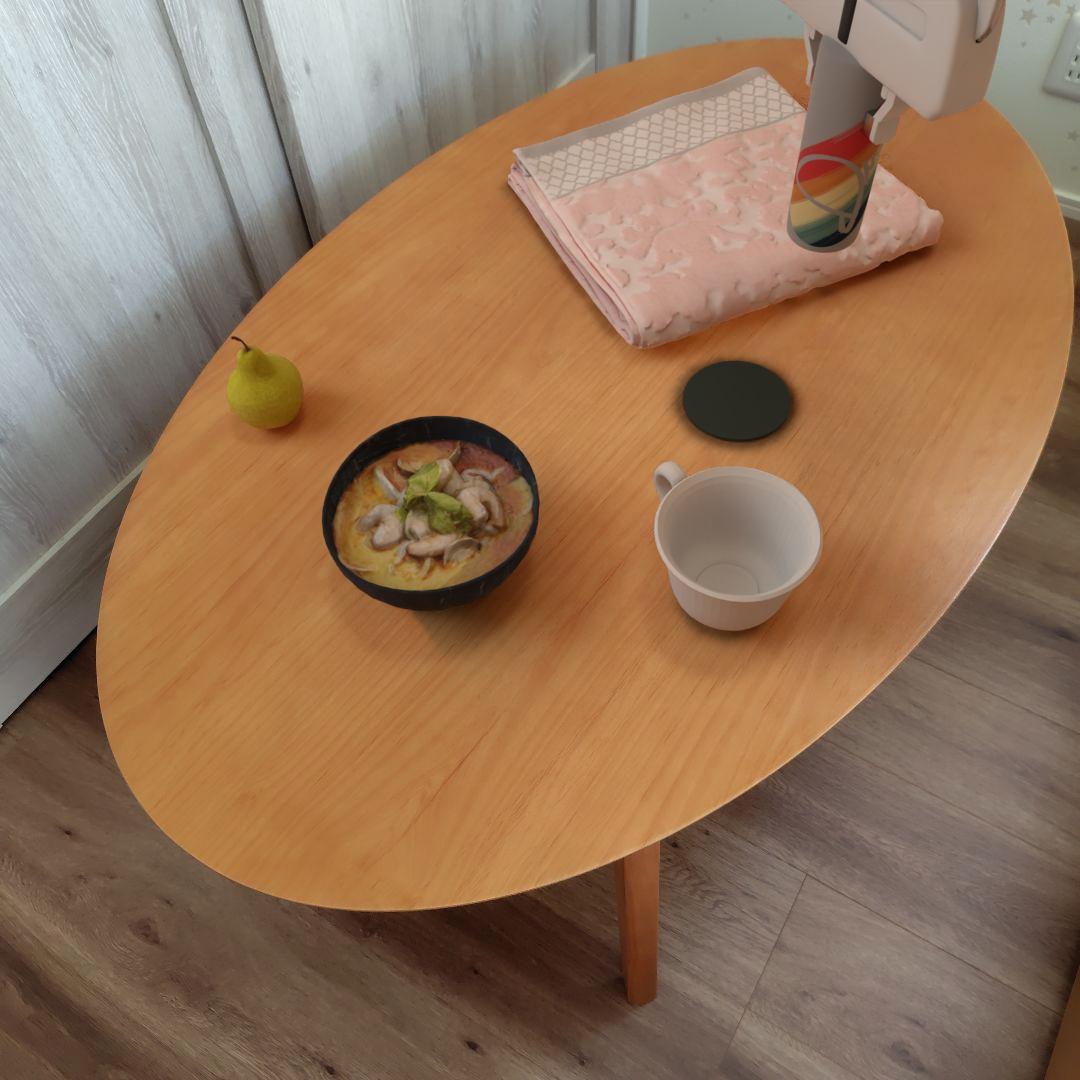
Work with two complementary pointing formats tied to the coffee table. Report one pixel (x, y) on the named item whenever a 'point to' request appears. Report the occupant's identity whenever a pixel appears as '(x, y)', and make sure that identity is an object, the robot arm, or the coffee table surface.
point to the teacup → (733, 542)
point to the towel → (698, 210)
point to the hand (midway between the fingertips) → (847, 111)
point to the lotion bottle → (835, 149)
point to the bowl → (431, 513)
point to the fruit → (264, 388)
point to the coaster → (736, 401)
